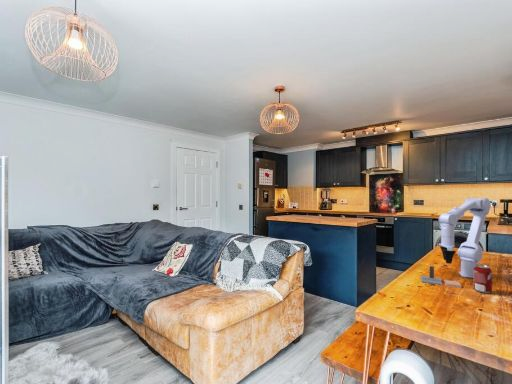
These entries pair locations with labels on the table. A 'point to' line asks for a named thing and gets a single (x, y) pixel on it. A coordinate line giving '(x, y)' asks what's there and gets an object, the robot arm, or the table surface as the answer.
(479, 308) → the table surface
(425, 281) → the mat
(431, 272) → the grey bar
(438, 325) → the table surface
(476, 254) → the robot arm
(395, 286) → the table surface
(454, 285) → the tile
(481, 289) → the soda can
